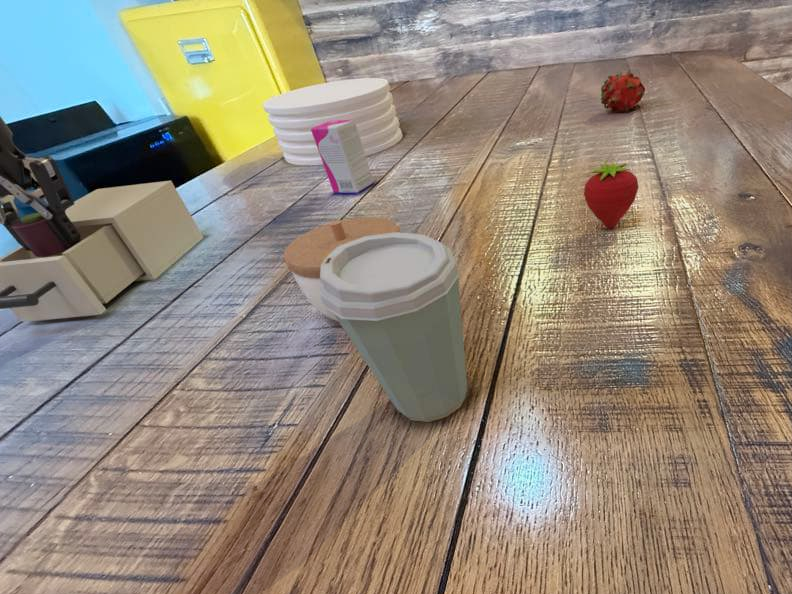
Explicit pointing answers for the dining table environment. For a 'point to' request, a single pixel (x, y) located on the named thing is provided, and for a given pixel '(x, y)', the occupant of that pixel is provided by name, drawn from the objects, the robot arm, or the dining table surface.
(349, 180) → the supplement box
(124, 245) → the drawer
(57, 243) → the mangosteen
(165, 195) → the cabinet
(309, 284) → the lidded bowl
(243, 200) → the dining table surface
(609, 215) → the strawberry
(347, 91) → the plate stack
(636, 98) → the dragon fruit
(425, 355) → the disposable coffee cup
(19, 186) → the robot arm
